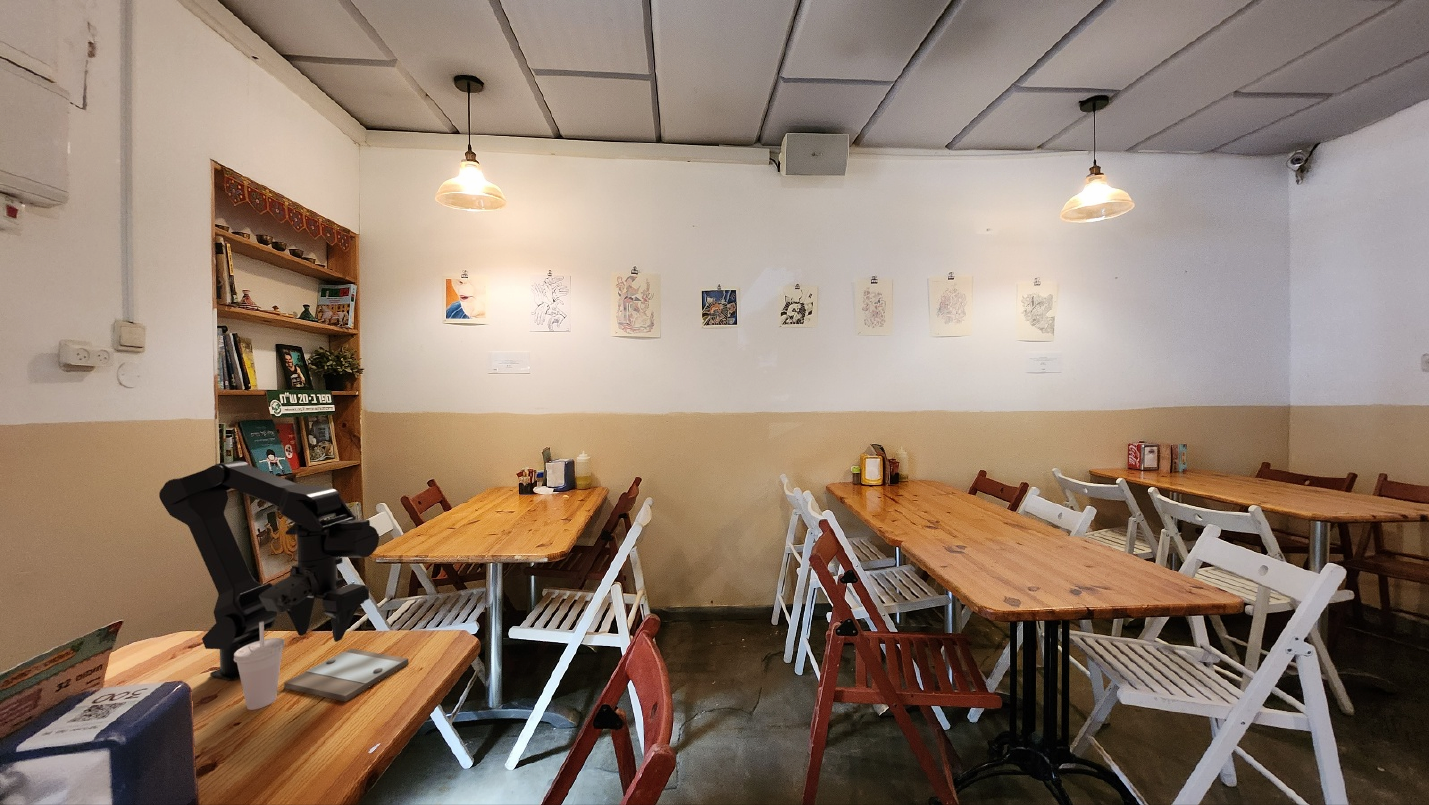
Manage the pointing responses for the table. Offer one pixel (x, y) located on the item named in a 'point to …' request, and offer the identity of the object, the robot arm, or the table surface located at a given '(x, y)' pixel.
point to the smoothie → (260, 670)
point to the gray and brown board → (346, 674)
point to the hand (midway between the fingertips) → (320, 637)
